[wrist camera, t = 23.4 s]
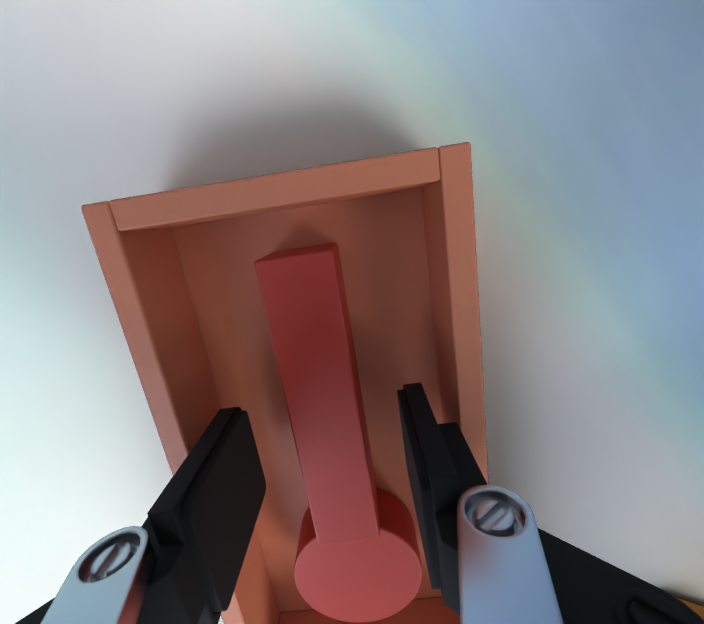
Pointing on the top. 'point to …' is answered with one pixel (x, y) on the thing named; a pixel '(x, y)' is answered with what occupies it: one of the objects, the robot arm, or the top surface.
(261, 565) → the red bin
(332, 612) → the red spoon
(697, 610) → the decorative tree
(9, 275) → the top surface
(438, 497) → the robot arm
